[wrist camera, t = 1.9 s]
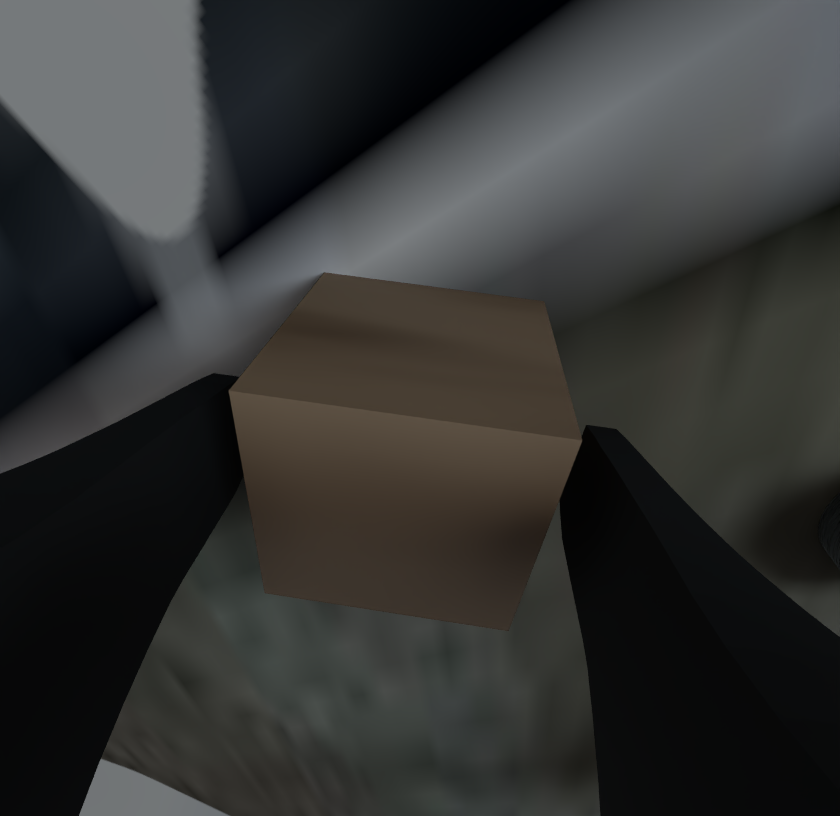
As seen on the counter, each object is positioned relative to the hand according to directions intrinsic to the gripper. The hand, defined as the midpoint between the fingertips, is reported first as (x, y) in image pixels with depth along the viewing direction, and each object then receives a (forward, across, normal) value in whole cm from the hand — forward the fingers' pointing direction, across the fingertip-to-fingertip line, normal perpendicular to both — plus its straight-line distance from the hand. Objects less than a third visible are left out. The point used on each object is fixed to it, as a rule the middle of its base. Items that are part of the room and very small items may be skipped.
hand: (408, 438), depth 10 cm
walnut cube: (+2, 0, 0) cm, 3 cm away
